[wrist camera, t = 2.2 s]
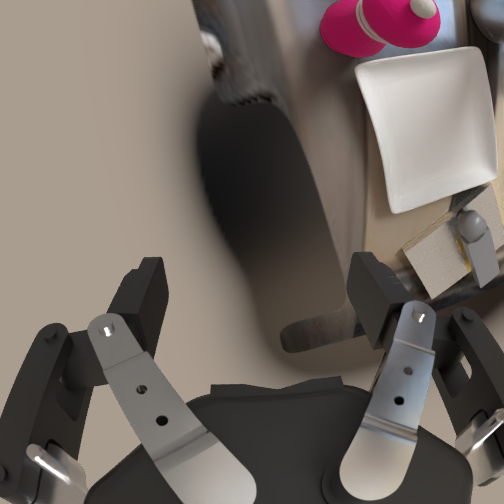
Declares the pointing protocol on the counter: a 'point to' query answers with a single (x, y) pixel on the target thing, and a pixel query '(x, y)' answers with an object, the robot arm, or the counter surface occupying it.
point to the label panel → (452, 242)
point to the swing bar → (478, 247)
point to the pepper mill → (379, 25)
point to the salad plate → (431, 123)
